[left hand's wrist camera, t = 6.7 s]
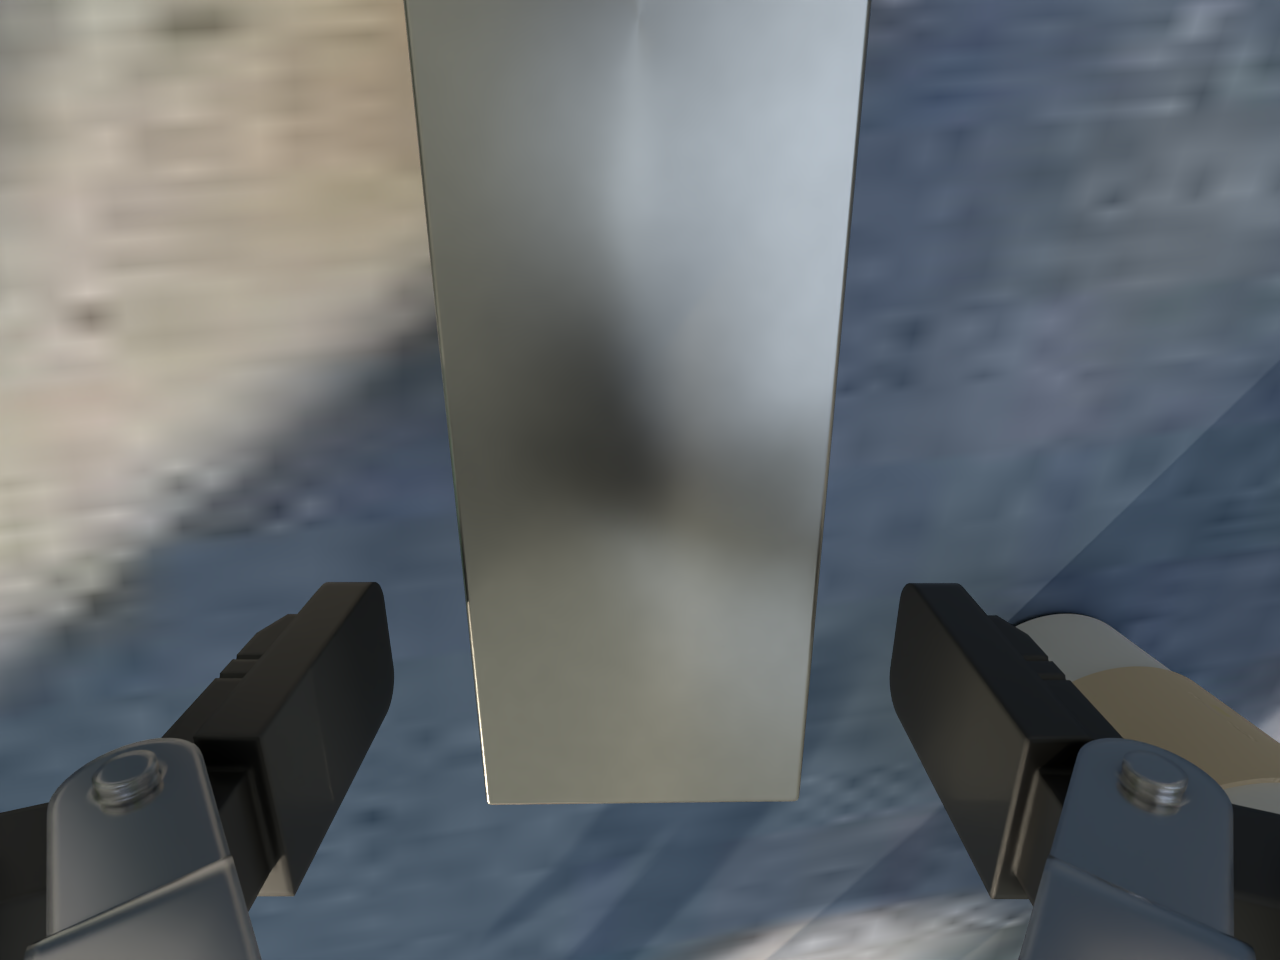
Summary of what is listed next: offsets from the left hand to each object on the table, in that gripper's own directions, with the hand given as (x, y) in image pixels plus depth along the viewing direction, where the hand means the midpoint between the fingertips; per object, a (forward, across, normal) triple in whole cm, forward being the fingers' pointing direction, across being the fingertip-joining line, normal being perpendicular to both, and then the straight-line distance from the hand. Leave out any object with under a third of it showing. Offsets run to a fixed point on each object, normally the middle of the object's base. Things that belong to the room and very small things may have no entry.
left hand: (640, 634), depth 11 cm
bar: (+8, 0, -8) cm, 11 cm away
